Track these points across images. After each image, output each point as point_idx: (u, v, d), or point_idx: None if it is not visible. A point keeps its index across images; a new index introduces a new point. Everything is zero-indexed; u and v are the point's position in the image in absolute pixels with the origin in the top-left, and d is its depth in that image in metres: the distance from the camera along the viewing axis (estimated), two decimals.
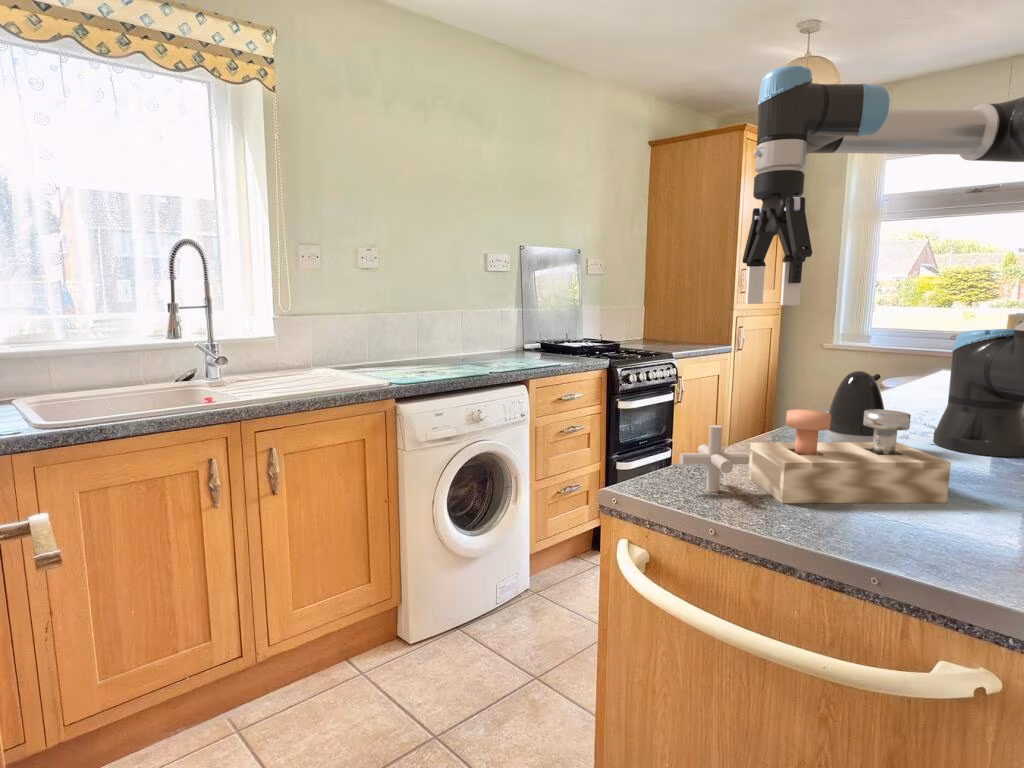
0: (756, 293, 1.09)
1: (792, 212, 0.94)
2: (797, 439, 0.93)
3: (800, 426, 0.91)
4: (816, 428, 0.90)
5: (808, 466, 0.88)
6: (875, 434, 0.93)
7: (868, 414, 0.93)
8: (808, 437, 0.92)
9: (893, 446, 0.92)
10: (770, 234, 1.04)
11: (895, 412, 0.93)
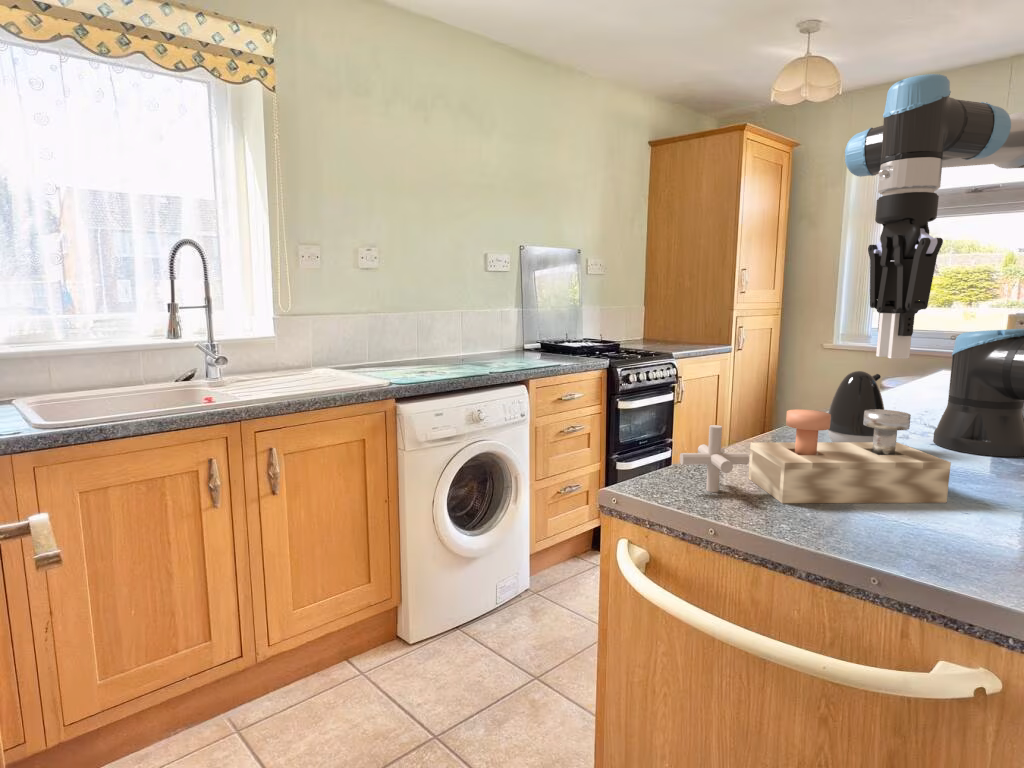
0: None
1: (922, 257, 0.84)
2: (797, 439, 0.93)
3: (800, 426, 0.91)
4: (816, 428, 0.90)
5: (808, 466, 0.88)
6: (875, 434, 0.93)
7: (868, 414, 0.93)
8: (808, 437, 0.92)
9: (893, 446, 0.92)
10: None
11: (895, 412, 0.93)
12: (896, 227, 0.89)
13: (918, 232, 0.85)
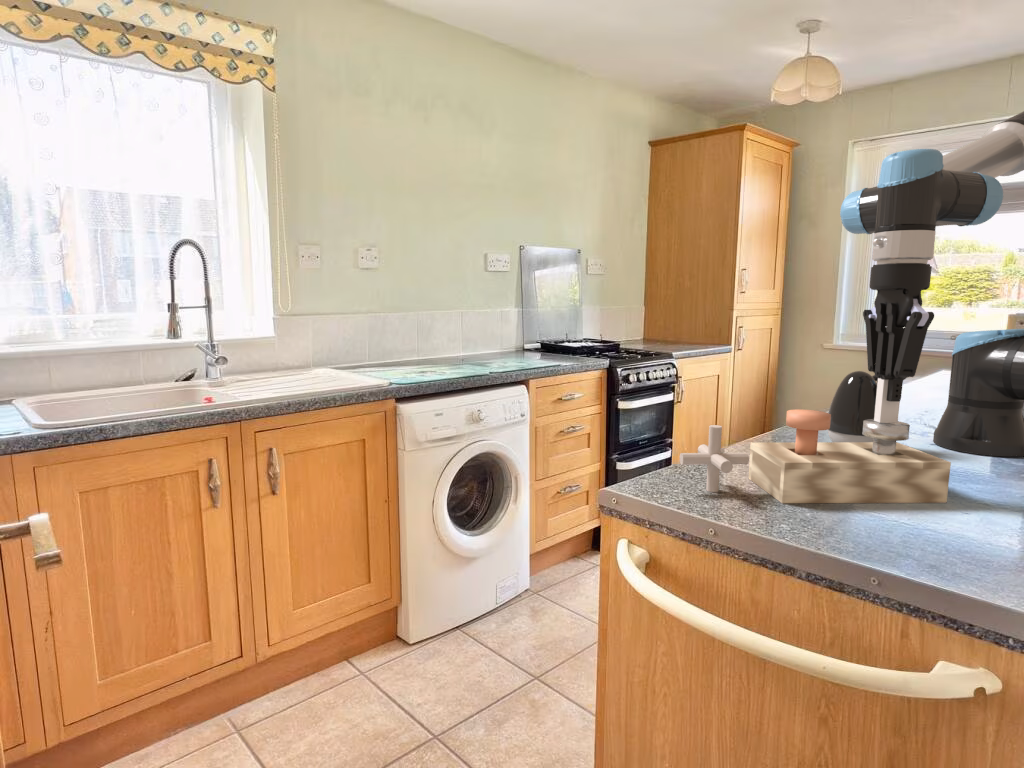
0: None
1: (913, 330, 0.86)
2: (797, 439, 0.93)
3: (800, 426, 0.91)
4: (816, 428, 0.90)
5: (808, 466, 0.88)
6: (874, 444, 0.93)
7: (867, 424, 0.93)
8: (808, 437, 0.92)
9: None
10: None
11: None
12: (890, 295, 0.90)
13: (911, 303, 0.86)
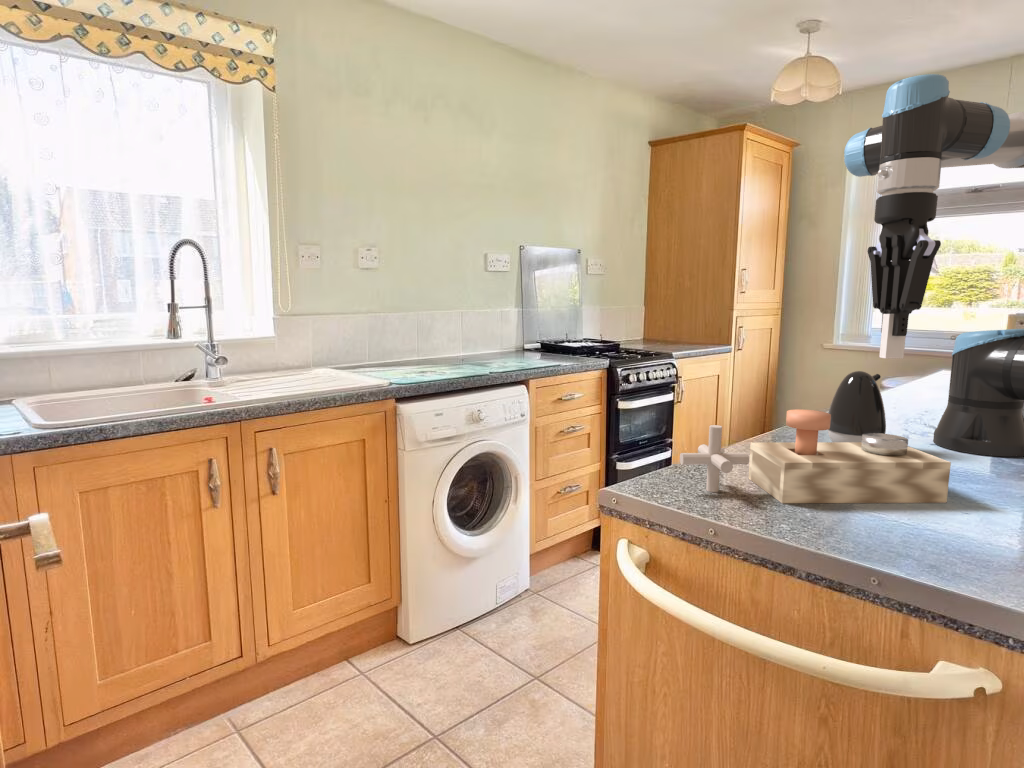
0: None
1: (919, 259, 0.84)
2: (797, 439, 0.93)
3: (800, 426, 0.91)
4: (816, 428, 0.90)
5: (808, 466, 0.88)
6: None
7: (866, 439, 0.93)
8: (808, 437, 0.92)
9: None
10: None
11: (893, 436, 0.94)
12: (895, 227, 0.89)
13: (917, 233, 0.85)
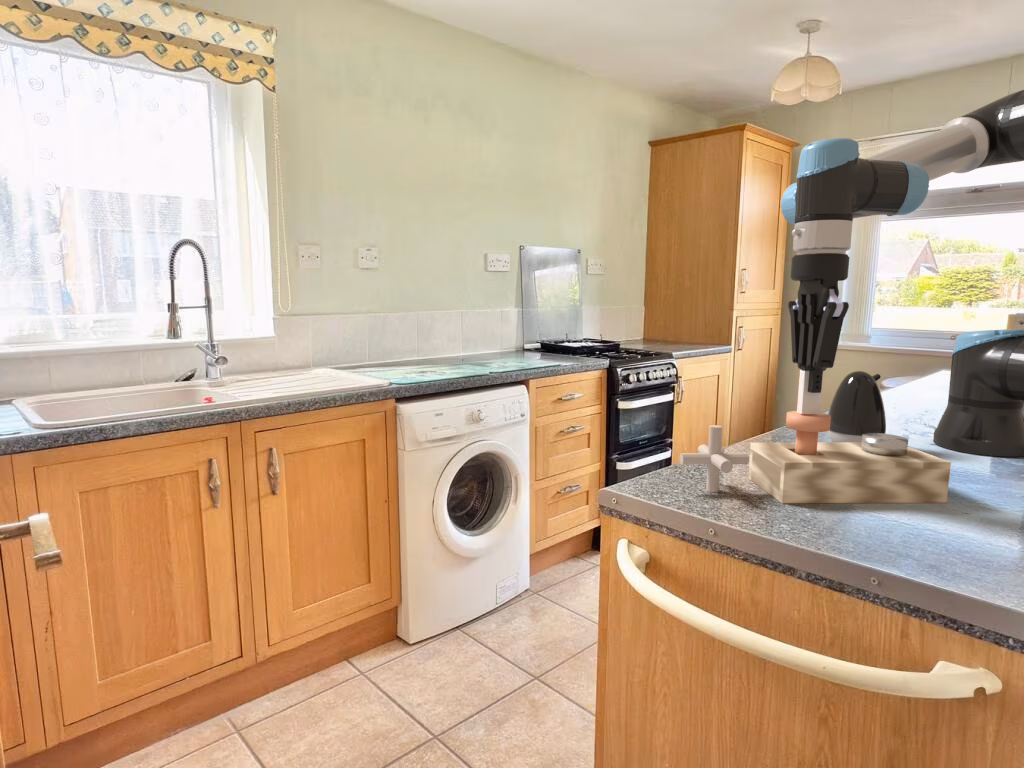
0: None
1: (829, 320, 0.85)
2: (797, 440, 0.93)
3: (800, 428, 0.91)
4: (816, 430, 0.90)
5: (808, 466, 0.88)
6: None
7: (866, 439, 0.93)
8: (808, 438, 0.92)
9: None
10: None
11: (893, 436, 0.94)
12: (810, 285, 0.90)
13: (827, 294, 0.86)
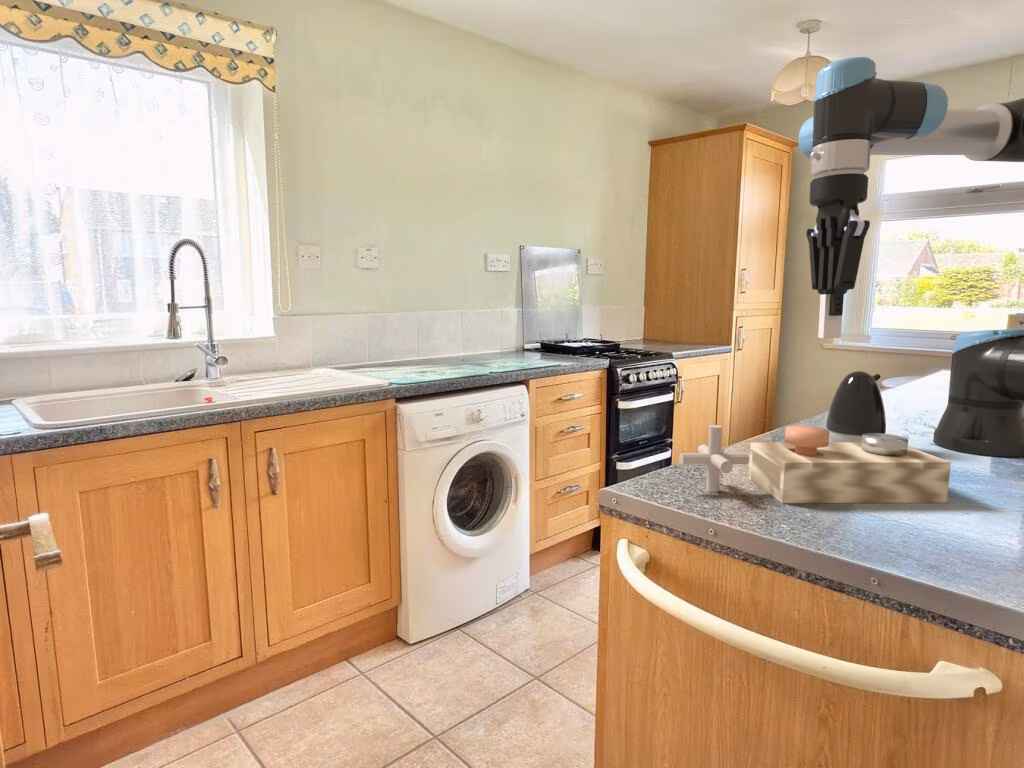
0: None
1: (850, 239, 0.86)
2: None
3: (799, 443, 0.91)
4: (815, 445, 0.90)
5: (808, 466, 0.88)
6: None
7: (866, 439, 0.93)
8: (807, 453, 0.92)
9: None
10: None
11: (893, 436, 0.94)
12: (829, 209, 0.91)
13: (848, 214, 0.86)
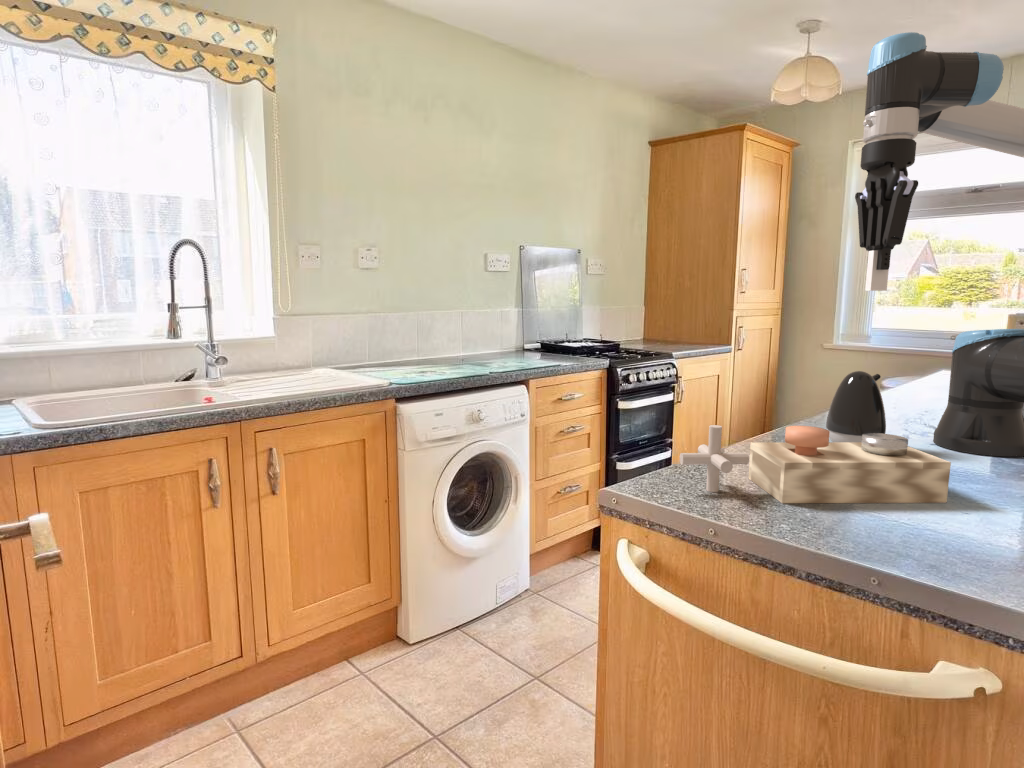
0: None
1: (899, 197, 0.95)
2: None
3: (799, 443, 0.91)
4: (815, 445, 0.90)
5: (808, 466, 0.88)
6: None
7: (866, 439, 0.93)
8: (807, 453, 0.92)
9: None
10: None
11: (893, 436, 0.94)
12: (879, 172, 0.99)
13: (897, 175, 0.95)
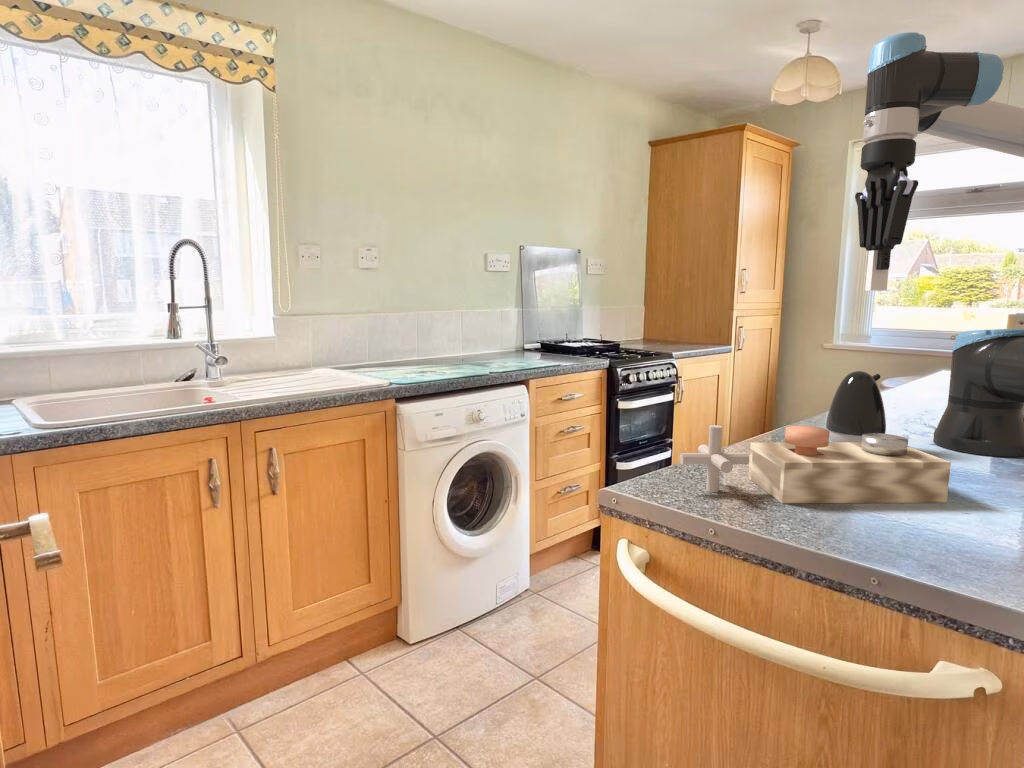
0: None
1: (899, 197, 0.95)
2: None
3: (799, 443, 0.91)
4: (815, 445, 0.90)
5: (808, 466, 0.88)
6: None
7: (866, 439, 0.93)
8: (807, 453, 0.92)
9: None
10: None
11: (893, 436, 0.94)
12: (879, 172, 0.99)
13: (897, 175, 0.95)
